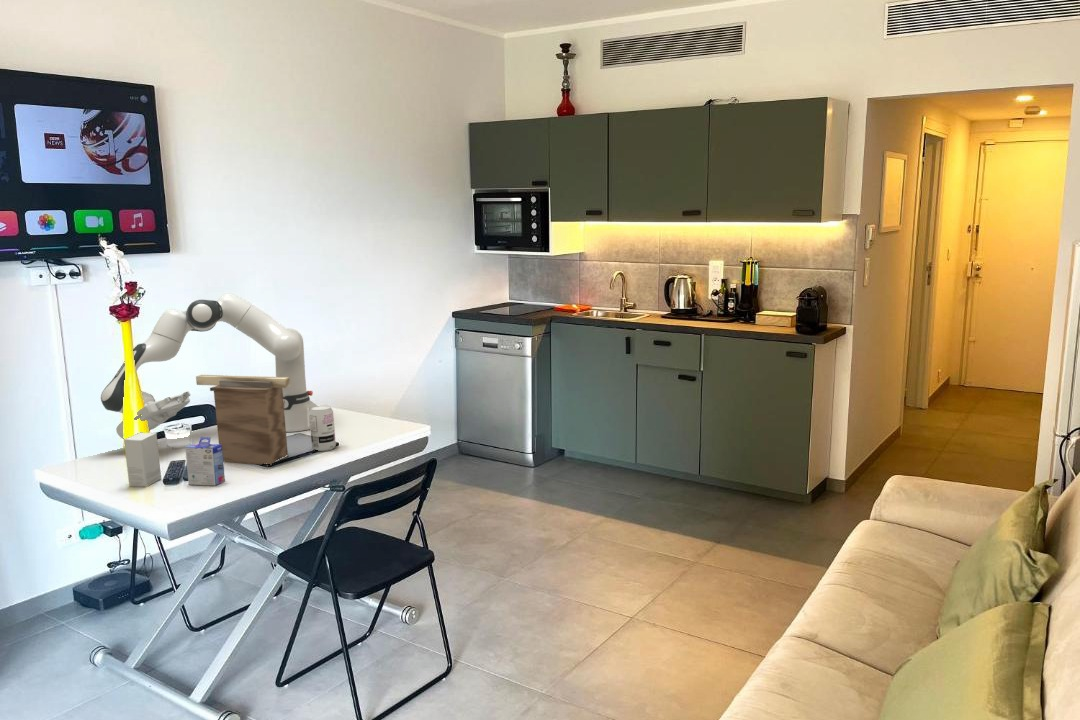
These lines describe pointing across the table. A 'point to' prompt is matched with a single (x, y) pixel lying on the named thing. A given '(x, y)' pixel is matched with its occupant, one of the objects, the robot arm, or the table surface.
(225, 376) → the wooden bar
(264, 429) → the tall wooden crate
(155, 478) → the skincare box
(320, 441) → the supplement can
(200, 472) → the ink cartridge box
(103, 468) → the table surface
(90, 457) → the table surface
